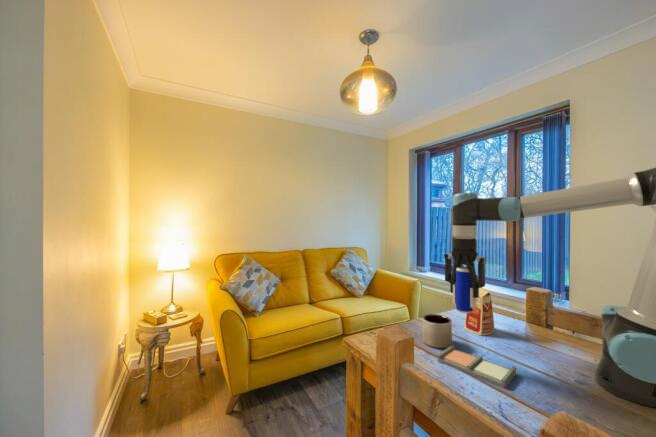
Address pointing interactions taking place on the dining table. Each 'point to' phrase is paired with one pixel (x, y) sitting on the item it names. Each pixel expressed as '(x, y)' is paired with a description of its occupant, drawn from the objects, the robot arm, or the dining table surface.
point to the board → (477, 366)
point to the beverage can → (463, 290)
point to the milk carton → (481, 315)
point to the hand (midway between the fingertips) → (464, 304)
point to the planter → (437, 331)
